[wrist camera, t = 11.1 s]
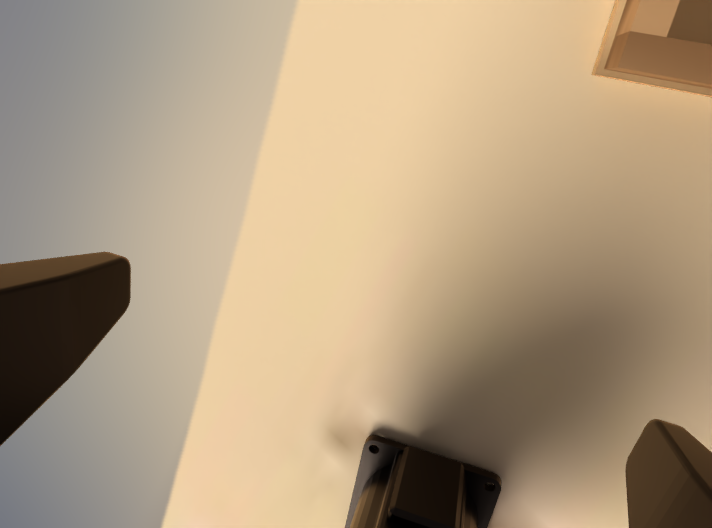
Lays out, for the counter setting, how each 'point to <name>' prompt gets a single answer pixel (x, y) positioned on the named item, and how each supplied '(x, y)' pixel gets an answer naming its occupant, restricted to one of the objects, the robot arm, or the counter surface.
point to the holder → (659, 44)
